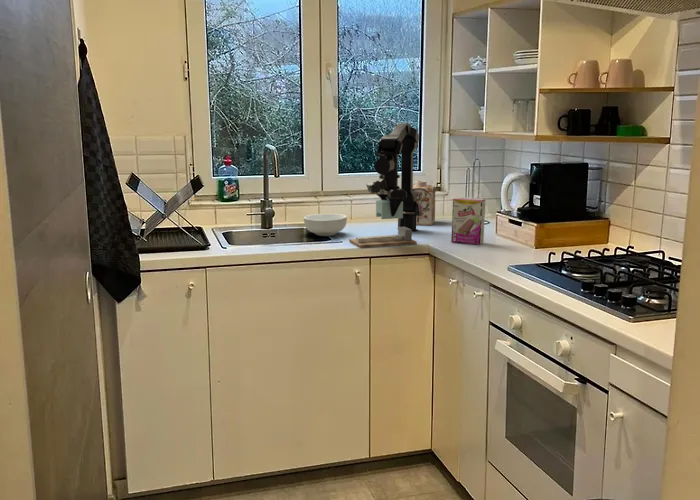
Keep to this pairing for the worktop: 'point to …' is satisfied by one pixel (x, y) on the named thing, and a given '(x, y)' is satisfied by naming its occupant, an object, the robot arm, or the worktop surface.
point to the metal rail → (379, 238)
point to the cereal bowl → (325, 223)
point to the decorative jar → (425, 203)
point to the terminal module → (387, 210)
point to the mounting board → (382, 243)
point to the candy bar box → (468, 220)
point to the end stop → (405, 233)
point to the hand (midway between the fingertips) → (389, 214)
